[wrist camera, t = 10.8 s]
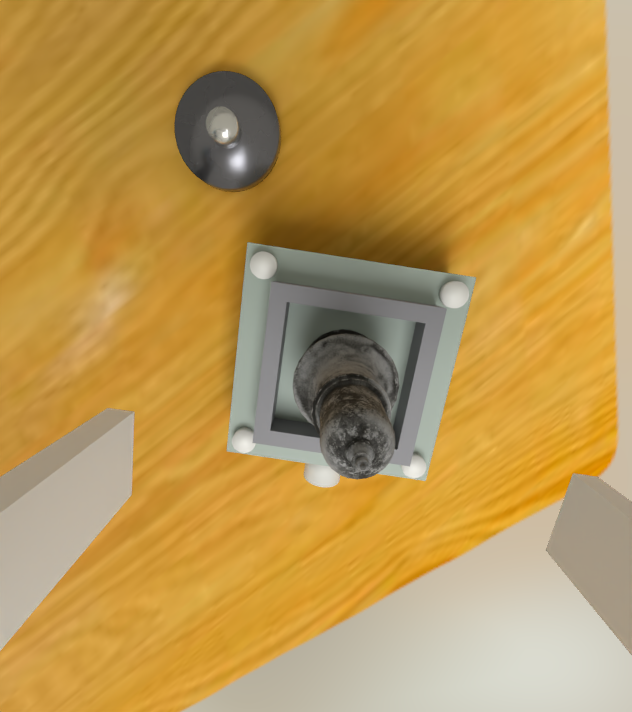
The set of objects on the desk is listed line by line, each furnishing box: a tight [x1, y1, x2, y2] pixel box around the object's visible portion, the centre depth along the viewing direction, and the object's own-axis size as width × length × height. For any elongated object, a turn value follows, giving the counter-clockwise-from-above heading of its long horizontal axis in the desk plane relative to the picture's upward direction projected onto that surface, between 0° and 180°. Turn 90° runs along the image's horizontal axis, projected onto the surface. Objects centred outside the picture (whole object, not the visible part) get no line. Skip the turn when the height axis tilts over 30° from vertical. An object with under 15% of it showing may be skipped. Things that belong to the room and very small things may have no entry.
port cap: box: [175, 71, 281, 192], centre depth 23 cm, size 7×7×2 cm
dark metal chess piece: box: [292, 329, 399, 479], centre depth 17 cm, size 6×6×12 cm
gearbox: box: [227, 242, 476, 487], centre depth 25 cm, size 14×16×7 cm
